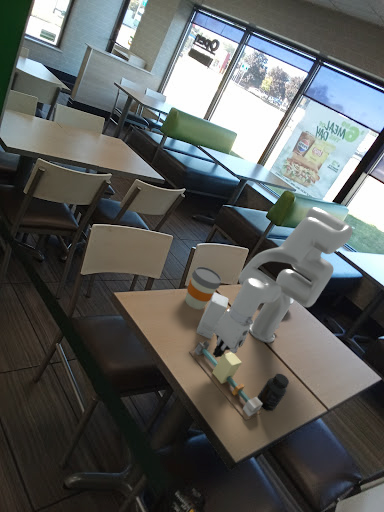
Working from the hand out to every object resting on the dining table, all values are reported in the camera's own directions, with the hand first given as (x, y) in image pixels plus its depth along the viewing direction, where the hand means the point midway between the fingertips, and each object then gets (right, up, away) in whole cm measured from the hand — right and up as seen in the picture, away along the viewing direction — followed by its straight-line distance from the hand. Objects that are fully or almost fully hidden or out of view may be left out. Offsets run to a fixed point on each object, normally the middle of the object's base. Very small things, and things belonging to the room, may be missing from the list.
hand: (217, 355), depth 131 cm
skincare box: (-4, +4, +21) cm, 22 cm away
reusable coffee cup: (-7, +13, +36) cm, 39 cm away
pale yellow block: (+1, -8, +1) cm, 8 cm away
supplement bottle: (+16, -16, -1) cm, 23 cm away
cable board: (+2, -9, 0) cm, 9 cm away
